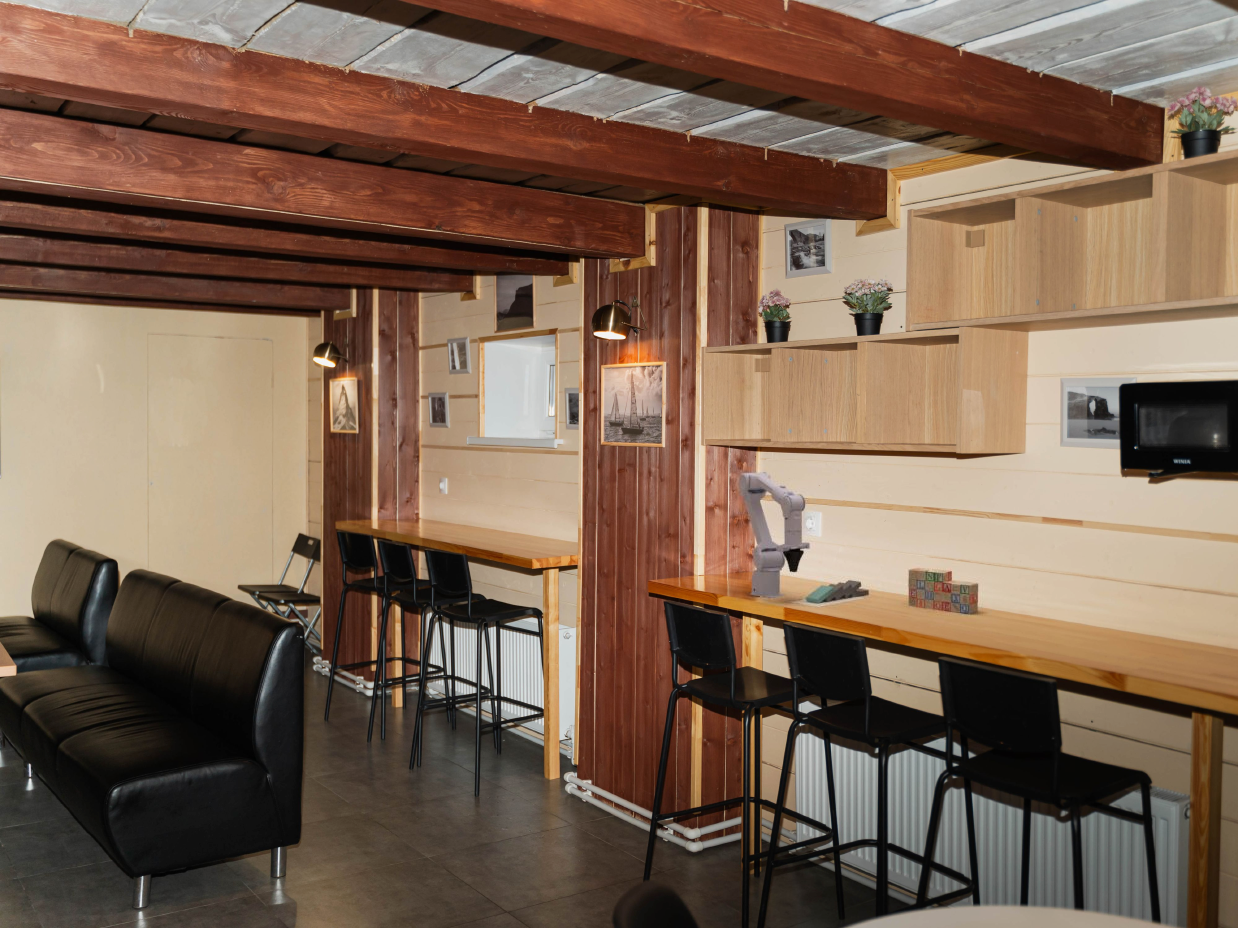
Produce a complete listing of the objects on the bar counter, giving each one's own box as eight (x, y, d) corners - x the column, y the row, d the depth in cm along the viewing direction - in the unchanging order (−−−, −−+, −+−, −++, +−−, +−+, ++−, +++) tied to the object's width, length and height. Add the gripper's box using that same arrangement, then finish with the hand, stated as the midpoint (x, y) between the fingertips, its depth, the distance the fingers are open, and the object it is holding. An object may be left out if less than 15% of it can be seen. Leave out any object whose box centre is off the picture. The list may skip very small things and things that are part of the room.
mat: (789, 603, 353) (789, 601, 353) (837, 594, 369) (837, 593, 369) (818, 608, 344) (818, 606, 344) (865, 599, 360) (865, 598, 360)
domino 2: (826, 597, 352) (842, 585, 358) (814, 595, 356) (830, 583, 361) (827, 602, 353) (843, 589, 358) (815, 600, 357) (831, 588, 362)
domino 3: (835, 596, 355) (851, 583, 361) (823, 594, 359) (839, 582, 364) (836, 600, 356) (852, 588, 361) (824, 598, 360) (840, 586, 365)
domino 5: (852, 592, 361) (868, 590, 367) (840, 591, 365) (856, 588, 371) (852, 597, 361) (868, 594, 367) (840, 595, 365) (856, 592, 371)
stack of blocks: (978, 612, 337) (978, 573, 336) (969, 614, 332) (969, 575, 332) (917, 603, 352) (917, 566, 352) (907, 606, 348) (908, 568, 347)
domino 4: (845, 593, 359) (860, 581, 364) (833, 591, 362) (848, 579, 368) (846, 597, 359) (861, 585, 364) (834, 596, 363) (849, 584, 368)
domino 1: (817, 599, 350) (833, 586, 355) (805, 597, 353) (821, 585, 359) (818, 603, 350) (834, 591, 355) (806, 601, 354) (822, 589, 359)
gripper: (787, 533, 345) (788, 574, 346) (816, 530, 355) (816, 570, 355) (771, 531, 351) (771, 572, 351) (800, 529, 360) (800, 568, 361)
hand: (793, 571), depth 354 cm, fingers closed
